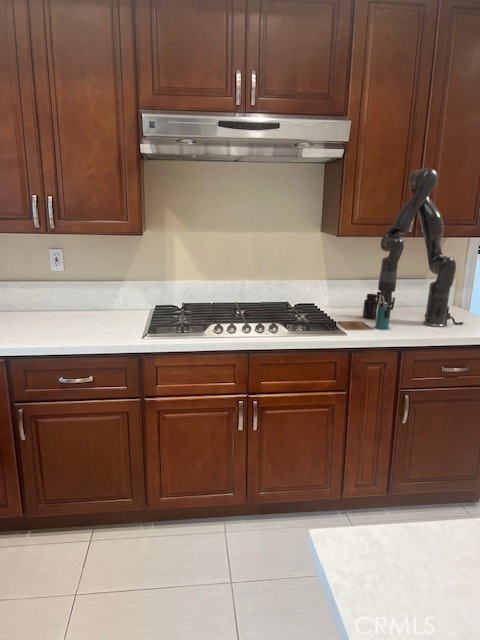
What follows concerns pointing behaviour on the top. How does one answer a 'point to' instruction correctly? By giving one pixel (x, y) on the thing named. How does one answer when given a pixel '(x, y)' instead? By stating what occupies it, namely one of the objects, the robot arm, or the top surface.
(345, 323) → the cork coaster
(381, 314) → the teal can
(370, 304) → the supplement bottle
